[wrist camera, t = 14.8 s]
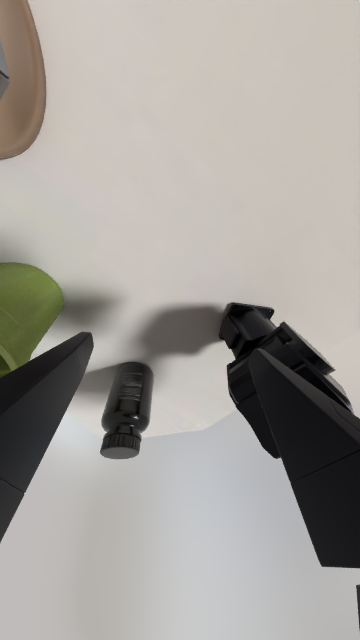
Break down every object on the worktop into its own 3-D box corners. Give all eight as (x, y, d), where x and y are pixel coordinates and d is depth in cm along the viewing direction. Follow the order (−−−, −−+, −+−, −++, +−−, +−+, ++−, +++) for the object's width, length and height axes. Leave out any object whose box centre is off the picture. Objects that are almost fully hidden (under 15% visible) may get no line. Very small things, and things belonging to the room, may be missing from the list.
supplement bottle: (109, 374, 30) (79, 456, 20) (131, 355, 27) (109, 438, 17) (139, 388, 33) (126, 465, 23) (161, 372, 30) (157, 451, 20)
